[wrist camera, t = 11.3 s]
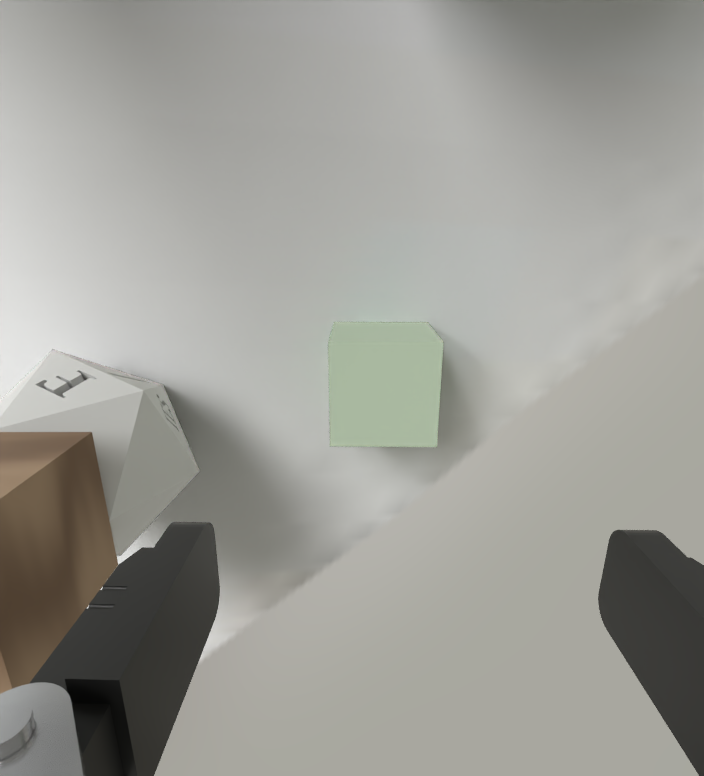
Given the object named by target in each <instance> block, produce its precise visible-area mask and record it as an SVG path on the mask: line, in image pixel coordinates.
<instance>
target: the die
mask: <svg viewBox="0 0 704 776" xmlns="http://www.w3.org/2000/svg"><path fill="white" fill-rule="evenodd" d="M0 432H92V435H93V440H94V445H95V450H96V455H97V460H98V465H99V470H100V475H101V481H102V486H103V491H104V496H105V501H106V506H107V511H108V516H109V521H110V526H111V531H112V536H113V541H114V546H115V551H116V556H121V555H122V554H123V553H124V552H125V551H126V550H127V549H128V547H129V546H130V545H131V544H132V543H133V542H134V541H135V540H136V539H137V538H138V537H139V536H140V535H141V534H142V533H143V531H144V530H145V529H146V528H147V527H148V526H149V525H150V524H151V523H152V522H153V521H154V520H155V519H156V518H157V517H158V515H159V514H160V513H161V512H162V511H163V510H164V509H165V508H166V507H167V506H168V505H169V504H170V503H171V502H172V501H173V499H174V498H175V497H176V496H177V495H178V494H179V493H180V492H181V491H182V490H183V489H184V488H185V487H186V486H187V485H188V483H189V482H190V481H191V480H192V479H193V478H194V477H195V476H196V475H197V474H198V473H199V472H200V470H199V468H198V466H197V463H196V461H195V458H194V456H193V454H192V451H191V449H190V447H189V444H188V442H187V440H186V437H185V435H184V433H183V430H182V428H181V426H180V423H179V421H178V418H177V416H176V414H175V411H174V409H173V407H172V404H171V402H170V400H169V397H168V395H167V393H166V390H165V388H164V386H163V385H162V384H159V383H156V382H153V381H150V380H147V379H143V378H140V377H137V376H134V375H129V374H127V373H125V372H122V371H119V370H115V369H112V368H109V367H106V366H103V365H100V364H97V363H94V362H90V361H87V360H84V359H81V358H78V357H75V356H72V355H69V354H65V353H62V352H59V351H56V350H52V351H51V352H50V353H48V354H47V355H46V356H45V357H44V358H43V359H42V360H41V361H40V362H39V363H38V364H37V365H36V366H35V367H34V368H33V369H32V370H31V371H30V372H29V373H28V374H27V375H26V376H25V377H24V378H23V379H22V380H20V381H19V382H18V383H17V384H16V385H15V386H14V387H13V388H12V389H11V390H10V391H9V392H8V393H7V394H6V395H5V396H4V397H3V398H2V399H1V400H0Z"/></svg>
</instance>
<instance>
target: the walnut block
mask: <svg viewBox="0 0 704 776" xmlns="http://www.w3.org/2000/svg"><path fill="white" fill-rule="evenodd" d="M117 566H118V562H117V557H116V551H115V546H114V541H113V536H112V531H111V526H110V521H109V516H108V511H107V506H106V501H105V496H104V491H103V486H102V481H101V475H100V470H99V465H98V460H97V455H96V450H95V445H94V440H93V435H92V432H0V694H1V693H3V692H5V691H8V690H10V689H13V688H15V687H18V686H22V685H26V684H29V683H30V682H31V680H32V679H33V678H34V676H35V675H36V674H37V672H38V671H39V670H40V668H41V667H42V666H43V664H44V663H45V662H46V660H47V659H48V658H49V656H50V655H51V654H52V652H53V651H54V650H55V648H56V647H57V646H58V644H59V643H60V642H61V641H62V639H63V638H64V637H65V635H66V634H67V633H68V631H69V630H70V629H71V627H72V626H73V625H74V623H75V622H76V621H77V619H78V618H79V617H80V615H81V614H82V613H83V611H84V610H85V609H86V608H87V607H88V605H89V603H90V602H91V601H92V599H93V598H94V597H95V596H96V594H97V593H98V592H99V590H100V589H101V588H102V586H103V585H104V584H105V582H106V581H107V579H108V578H109V577H110V575H111V574H112V573H113V571H114V570H115V569H116V567H117Z"/></svg>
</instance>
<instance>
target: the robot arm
mask: <svg viewBox="0 0 704 776" xmlns="http://www.w3.org/2000/svg"><path fill="white" fill-rule="evenodd" d="M219 593H220V586H219V575H218V565H217V554H216V544H215V534H214V528H213V525H212V524H211V523H203V522H173V523H171V524H170V525H169V526H168V528H167V529H166V531H165V532H164V534H163V535H162V537H161V538H160V539H159V541H158V542H157V544H156V545H155V547H154V548H141V549H140V550H138V551H137V552H136V553H134V554H133V555H132V556H130V557H129V558H127V559H126V560H125V561H123V562H122V563H121V564H119V565H118V566H117V568H116V569H115V570H114V572H113V573H112V574H111V576H110V577H109V578H108V580H107V581H106V582H105V584H104V585H103V589H102V590H99V592H98V593H97V594H96V596H95V597H94V598H93V599H92V601H91V602H90V603H89V608H88V609H85V610H84V611H83V613H82V614H81V615H80V617H79V618H78V619H77V621H76V622H75V623H74V625H73V626H72V627H71V629H70V630H69V631H68V633H67V634H66V635H65V637H64V638H63V639H62V641H61V642H60V643H59V644H58V646H57V647H56V648H55V650H54V651H53V652H52V654H51V655H50V656H49V658H48V659H47V660H46V662H45V663H44V664H43V666H42V667H41V668H40V670H39V671H38V672H37V674H36V675H35V676H34V678H33V679H32V680H31V682H30V683H29V684H26V685H22V686H18V687H15V688H13V689H10V690H8V691H5V692H3V693H1V694H0V776H154V774H155V771H156V769H157V766H158V763H159V761H160V759H161V756H162V753H163V751H164V748H165V746H166V743H167V740H168V738H169V735H170V733H171V730H172V728H173V725H174V723H175V720H176V718H177V715H178V712H179V710H180V707H181V705H182V702H183V700H184V697H185V695H186V692H187V689H188V687H189V684H190V682H191V679H192V677H193V674H194V671H195V669H196V666H197V664H198V661H199V659H200V656H201V654H202V651H203V648H204V646H205V643H206V641H207V638H208V636H209V633H210V631H211V628H212V625H213V623H214V620H215V617H216V614H217V609H218V604H219ZM598 600H599V610H600V614H601V618H602V620H603V623H604V625H605V627H606V629H607V631H608V632H609V634H610V635H611V637H612V639H613V640H614V642H615V643H616V645H617V647H618V648H619V650H620V651H621V653H622V654H623V656H624V658H625V659H626V661H627V662H628V664H629V665H630V667H631V668H632V670H633V672H634V673H635V675H636V676H637V678H638V680H639V681H640V683H641V684H642V686H643V688H644V689H645V691H646V692H647V694H648V695H649V697H650V698H651V700H652V702H653V703H654V705H655V706H656V708H657V710H658V711H659V713H660V714H661V716H662V718H663V719H664V721H665V722H666V724H667V725H668V727H669V729H670V730H671V732H672V733H673V735H674V736H675V738H676V740H677V741H678V743H679V744H680V746H681V748H682V749H683V750H684V752H685V754H686V755H687V757H688V758H689V760H690V762H691V763H692V765H693V766H694V768H695V770H696V771H697V773H698V774H699V776H704V565H702V564H701V563H699V562H697V561H696V560H694V559H692V558H688V557H686V556H685V555H684V554H683V553H682V552H681V551H680V550H679V549H678V548H677V547H676V546H675V545H674V544H673V543H672V542H671V541H670V540H669V539H668V538H667V537H666V536H665V535H664V534H662V533H661V532H659V531H654V530H652V531H651V530H616V531H614V532H613V533H612V534H611V536H610V539H609V544H608V549H607V554H606V559H605V564H604V569H603V574H602V579H601V584H600V589H599V597H598Z"/></svg>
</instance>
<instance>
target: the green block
mask: <svg viewBox="0 0 704 776" xmlns="http://www.w3.org/2000/svg"><path fill="white" fill-rule="evenodd" d="M442 358H443V341H442V340H441V338H440V337H439V336H438V335H437V333H436V332H435V331H434V329H433V328H432V327H431V326H430V324H429V323H428V322H334V324H333V327H332V331H331V334H330V337H329V341H328V363H329V425H330V447H437V438H438V422H439V406H440V390H441V374H442Z"/></svg>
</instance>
